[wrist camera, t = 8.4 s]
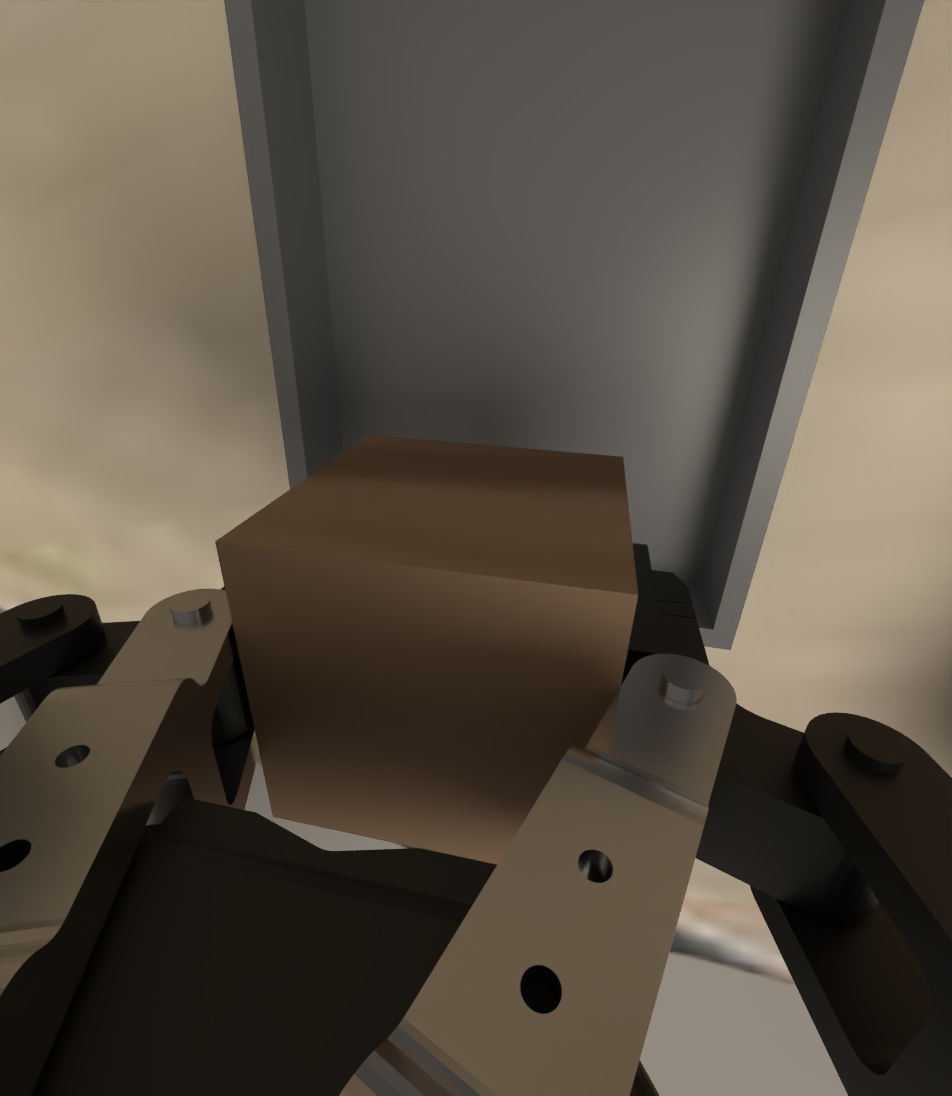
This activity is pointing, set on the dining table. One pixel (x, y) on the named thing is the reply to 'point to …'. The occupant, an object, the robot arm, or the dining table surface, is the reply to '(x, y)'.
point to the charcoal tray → (567, 235)
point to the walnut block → (431, 634)
